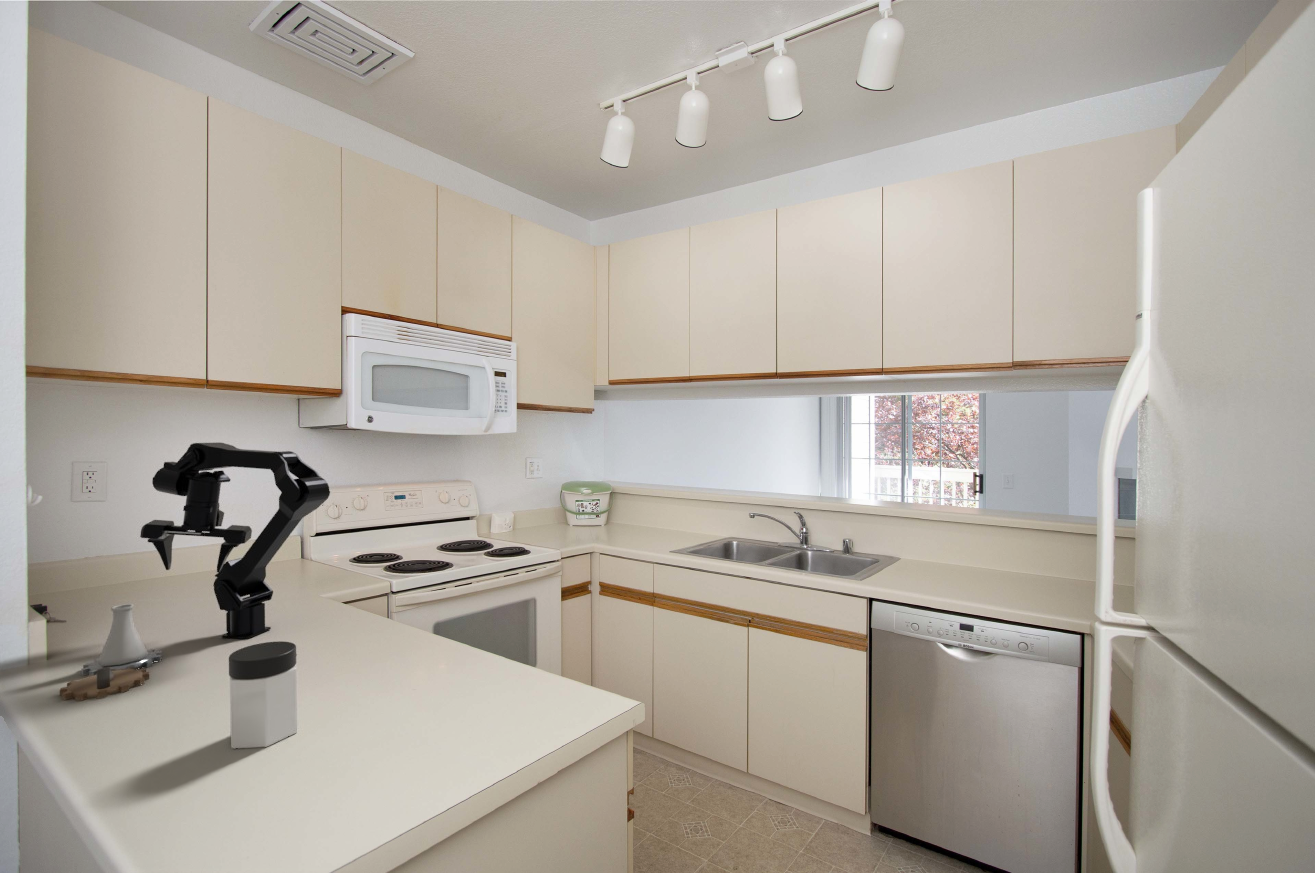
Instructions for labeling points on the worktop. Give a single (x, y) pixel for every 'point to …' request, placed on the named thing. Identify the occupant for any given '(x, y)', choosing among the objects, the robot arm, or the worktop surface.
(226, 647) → the worktop surface
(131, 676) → the drive gear
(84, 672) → the gear
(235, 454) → the robot arm
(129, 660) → the flask
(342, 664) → the worktop surface
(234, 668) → the jar
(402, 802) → the worktop surface
